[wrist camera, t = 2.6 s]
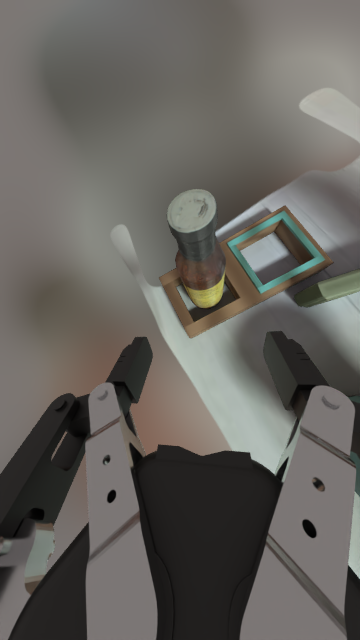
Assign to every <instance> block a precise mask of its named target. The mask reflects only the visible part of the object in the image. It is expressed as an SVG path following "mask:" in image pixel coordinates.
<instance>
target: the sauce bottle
mask: <svg viewBox="0 0 360 640" xmlns="http://www.w3.org/2000/svg"><path fill="white" fill-rule="evenodd" d="M217 219H218V214H217V203H216V201H215V198H214V197H213V196H212V195H211V193H210V192H208V191H206V190H203V189H192V190H188V191H185V192H182V193H180V194H179V195H178V196H176V197H175V198H174V199H173V201H172V202H171V203H170V205H169V208H168V211H167V221H168V224H169V227H170V230H171V233H172V235H173V236H174V237H175V238H176V240H177V243H178V247H179V250H178V253H177V255H176V259H175V261H176V267H177V270H178V273H179V275H180V278H181V281H182V283H183V285H184V287H185V289H186V291H187V293H188V295H189V297H190V299H191V300H192V302H193V303H194V304H195V305H196V306H197V307H199V308H204V309H209V308H212V307H214V306H215V305H217V304H218V303H219V301H220V299H221V297H222V294H223V287H224V278H225V268H226V258H225V254H224V252H223V250H222V248H221V246H220V244H219V242H218V241H217V239H216V236H215V227H216V224H217Z"/></svg>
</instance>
